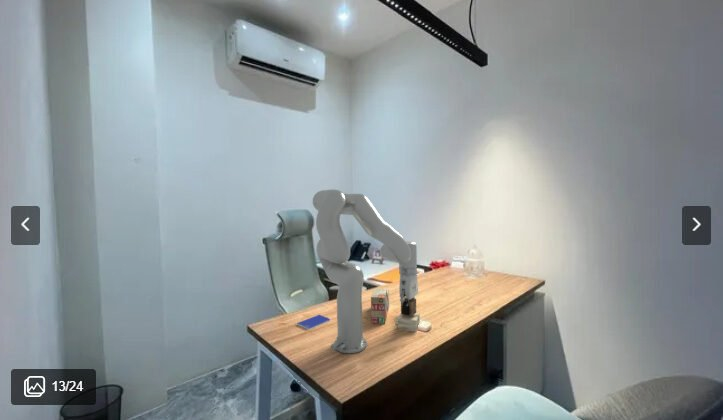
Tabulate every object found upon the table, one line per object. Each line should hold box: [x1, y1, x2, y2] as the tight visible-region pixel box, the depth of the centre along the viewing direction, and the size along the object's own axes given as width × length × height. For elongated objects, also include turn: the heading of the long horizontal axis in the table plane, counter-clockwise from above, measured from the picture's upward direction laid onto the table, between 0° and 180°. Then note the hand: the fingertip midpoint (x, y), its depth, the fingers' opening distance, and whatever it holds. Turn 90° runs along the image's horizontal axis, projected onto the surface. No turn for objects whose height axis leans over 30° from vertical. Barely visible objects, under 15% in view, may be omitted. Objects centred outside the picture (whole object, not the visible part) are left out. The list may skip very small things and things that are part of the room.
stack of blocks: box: [370, 288, 390, 325], centre depth 143 cm, size 21×6×12 cm, turn 170°
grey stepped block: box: [397, 312, 421, 333], centre depth 129 cm, size 8×8×5 cm
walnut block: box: [400, 297, 417, 316], centre depth 128 cm, size 5×5×6 cm
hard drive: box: [297, 314, 331, 331], centre depth 135 cm, size 2×8×12 cm
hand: (408, 311), depth 129 cm, fingers closed on walnut block, 4 cm apart
